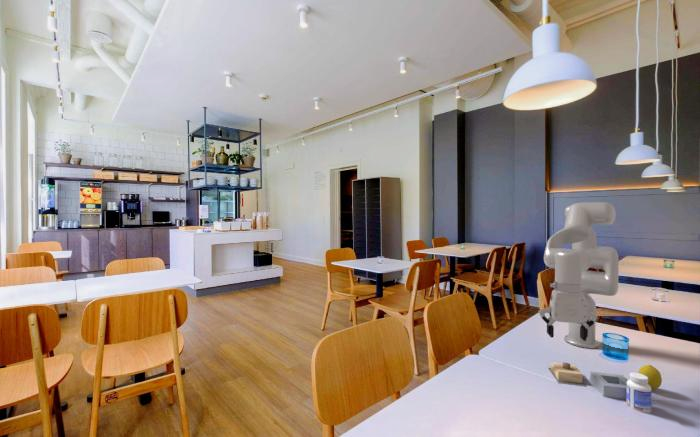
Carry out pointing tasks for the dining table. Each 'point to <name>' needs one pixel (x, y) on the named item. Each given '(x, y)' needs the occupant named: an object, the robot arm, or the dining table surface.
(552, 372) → the grey rectangular plate
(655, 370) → the lemon
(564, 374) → the lid
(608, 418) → the dining table surface
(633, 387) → the pill bottle
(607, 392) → the grey square container
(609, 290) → the robot arm
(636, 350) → the dining table surface
